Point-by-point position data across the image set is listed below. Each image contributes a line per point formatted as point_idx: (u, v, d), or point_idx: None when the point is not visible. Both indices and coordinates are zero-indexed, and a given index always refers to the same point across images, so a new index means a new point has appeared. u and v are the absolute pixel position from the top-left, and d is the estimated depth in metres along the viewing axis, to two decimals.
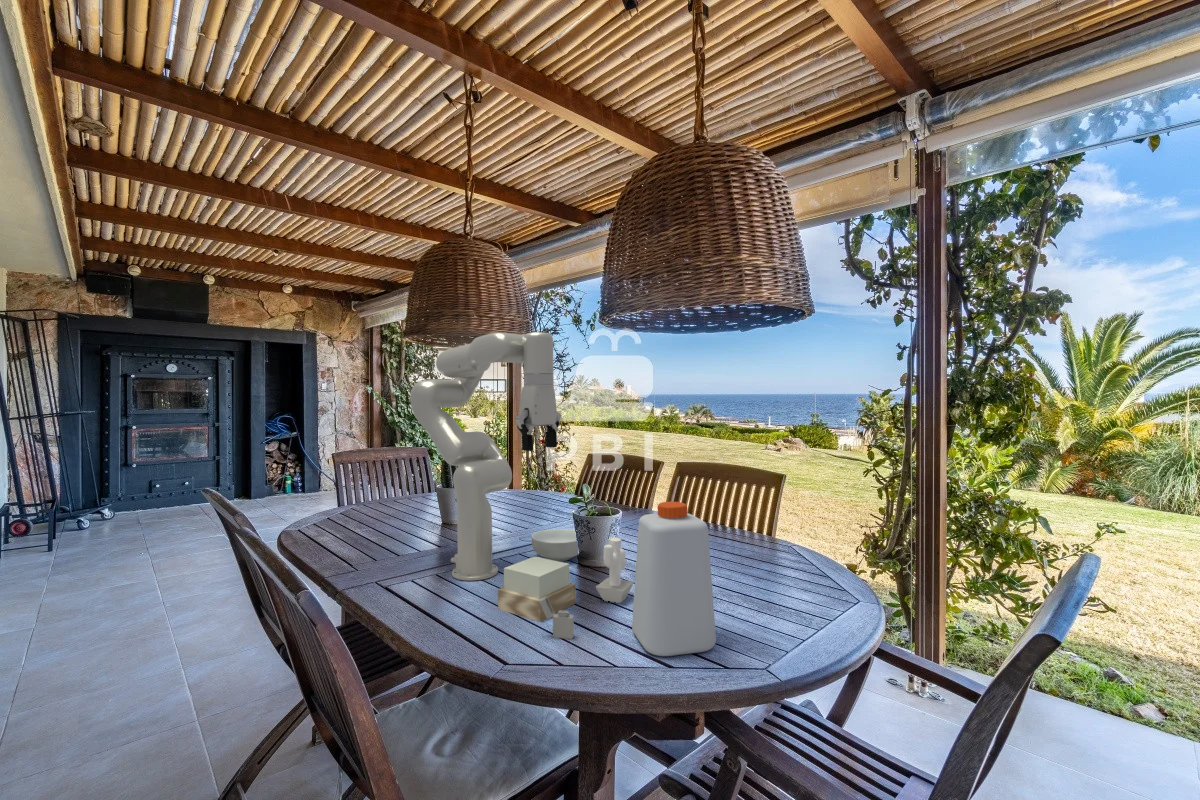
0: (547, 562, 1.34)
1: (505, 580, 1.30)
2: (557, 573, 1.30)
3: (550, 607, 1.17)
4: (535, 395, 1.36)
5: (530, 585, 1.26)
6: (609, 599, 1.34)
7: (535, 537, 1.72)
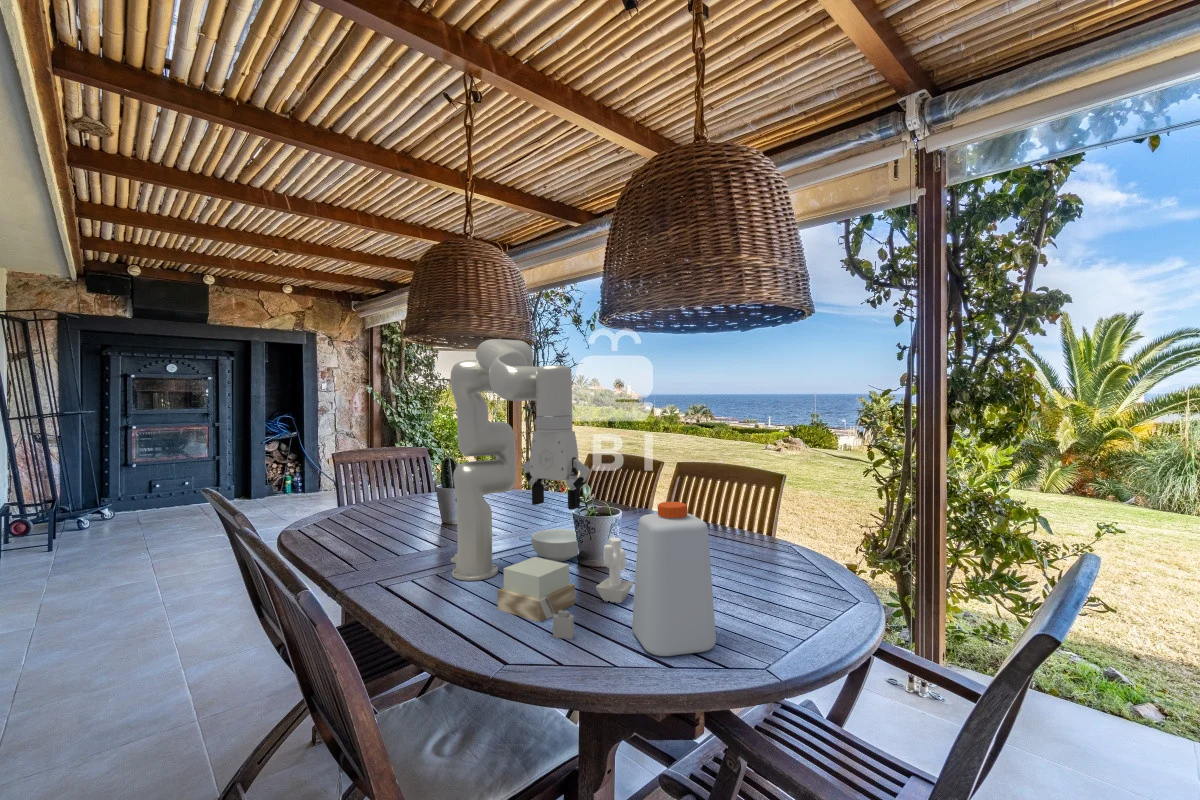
0: (547, 563, 1.34)
1: (505, 580, 1.30)
2: (557, 574, 1.30)
3: (550, 607, 1.17)
4: None
5: (530, 586, 1.26)
6: (609, 599, 1.34)
7: (535, 537, 1.72)
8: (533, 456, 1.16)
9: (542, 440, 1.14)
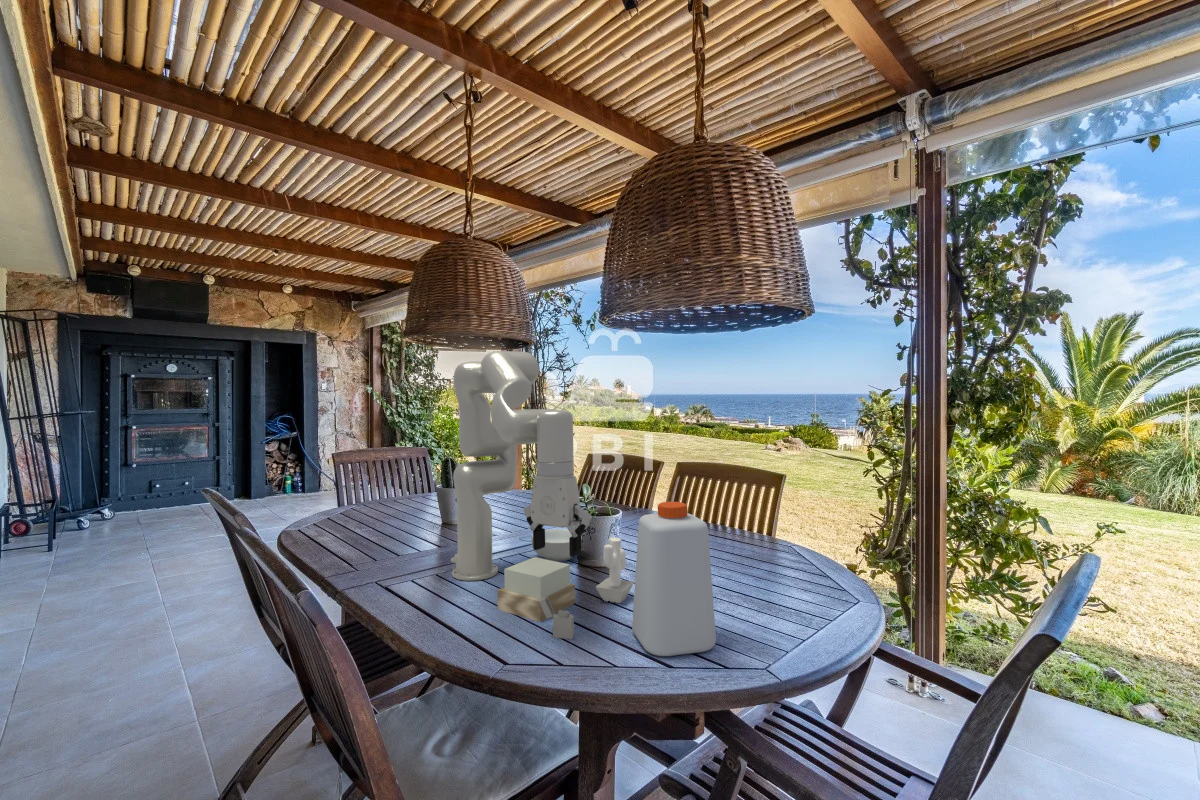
0: (547, 563, 1.34)
1: (506, 581, 1.30)
2: (558, 574, 1.29)
3: (550, 607, 1.17)
4: None
5: (532, 586, 1.25)
6: (609, 599, 1.34)
7: None
8: (534, 501, 1.15)
9: (543, 486, 1.13)
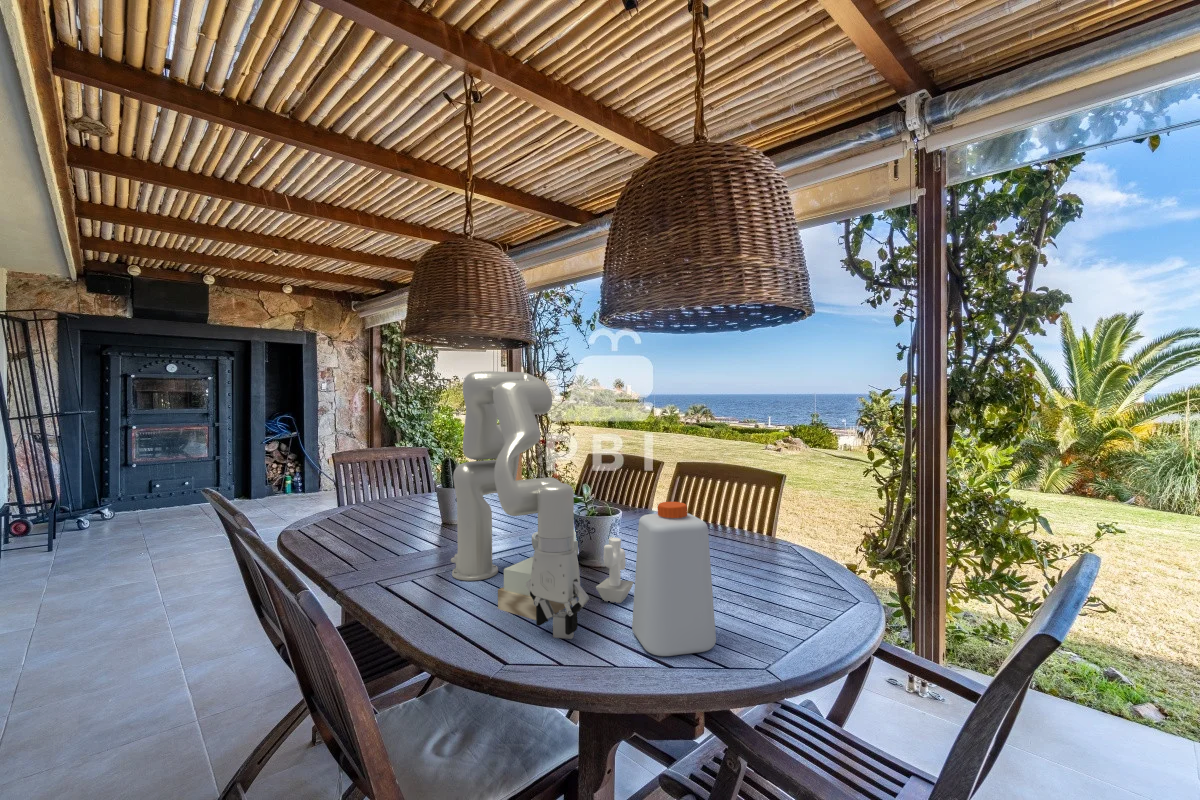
0: None
1: (505, 581, 1.30)
2: None
3: (550, 607, 1.17)
4: None
5: None
6: (609, 599, 1.34)
7: None
8: (534, 575, 1.15)
9: (543, 560, 1.14)
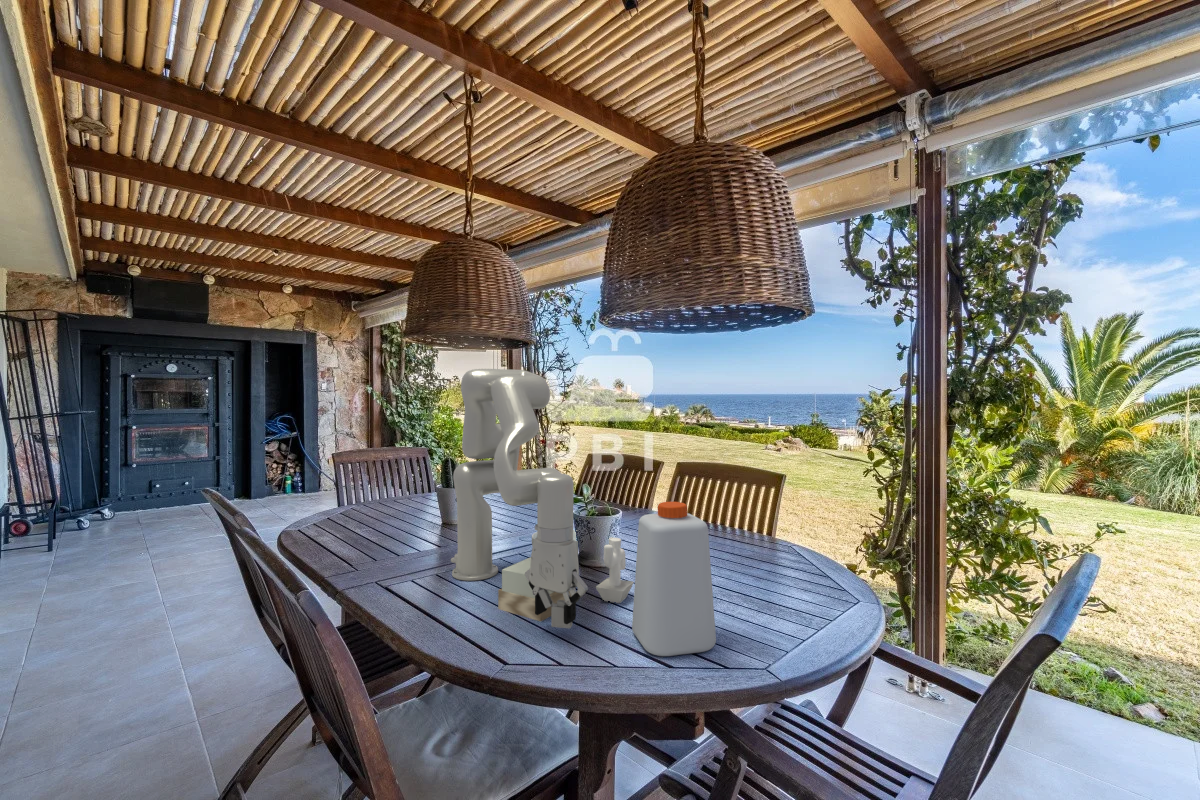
0: None
1: (503, 582, 1.29)
2: None
3: (549, 597, 1.17)
4: None
5: None
6: (609, 599, 1.34)
7: (535, 537, 1.72)
8: (533, 564, 1.16)
9: (543, 550, 1.14)
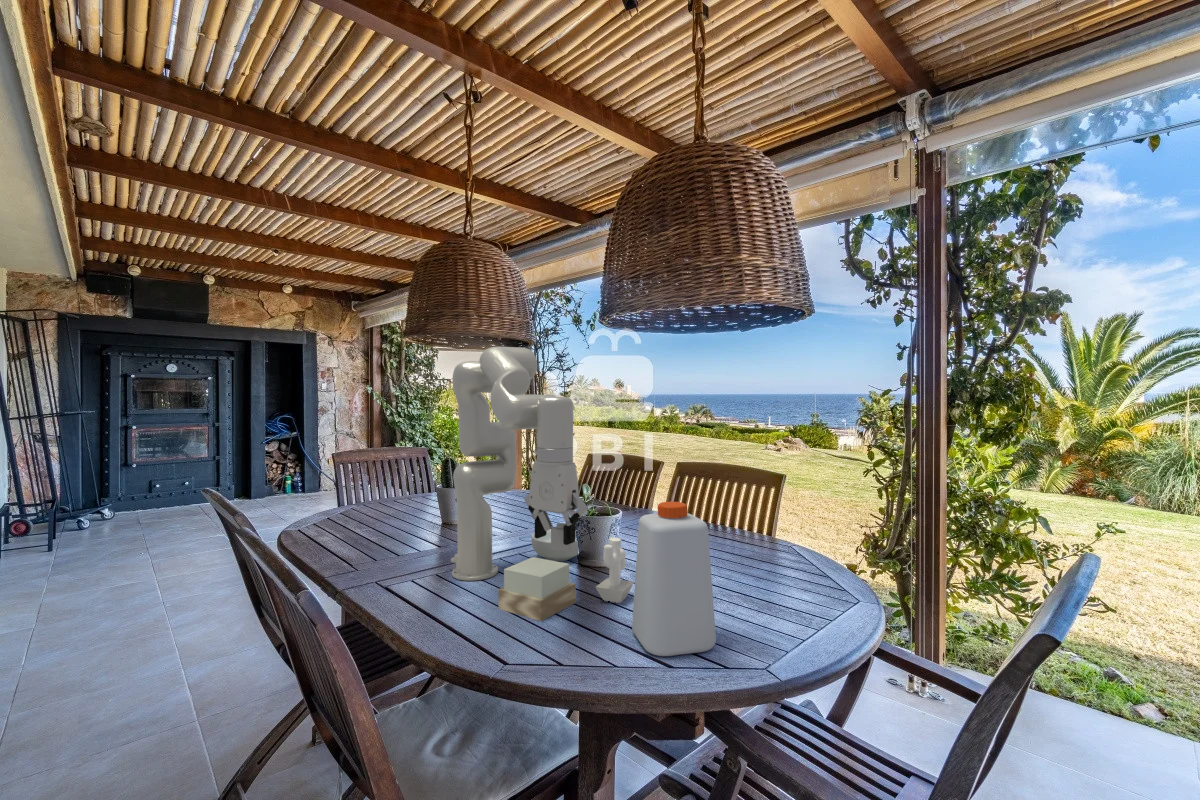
0: (546, 563, 1.34)
1: (505, 581, 1.30)
2: (558, 573, 1.30)
3: (548, 520, 1.17)
4: None
5: (532, 586, 1.25)
6: (609, 599, 1.34)
7: None
8: (533, 487, 1.15)
9: (542, 472, 1.14)
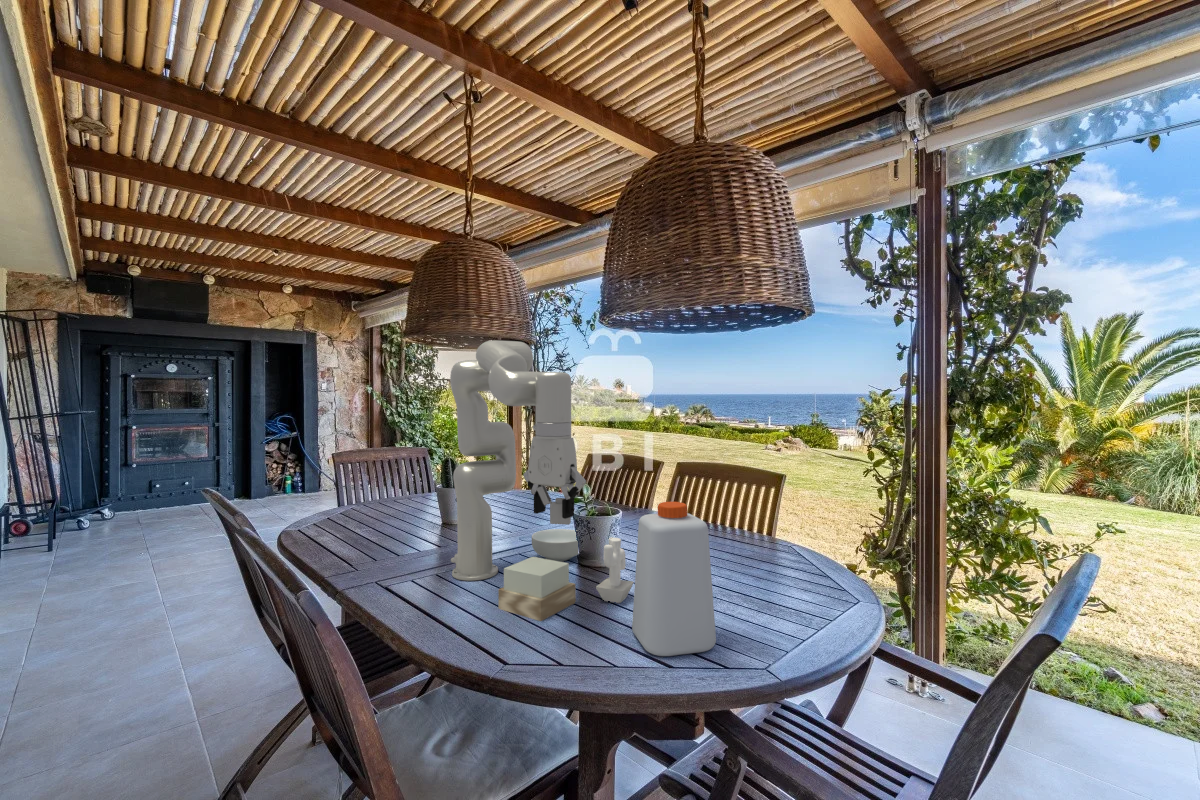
0: (546, 562, 1.35)
1: (505, 580, 1.30)
2: (558, 573, 1.30)
3: (547, 495, 1.18)
4: None
5: (532, 585, 1.26)
6: (609, 599, 1.34)
7: (535, 537, 1.72)
8: (532, 462, 1.16)
9: (541, 446, 1.15)
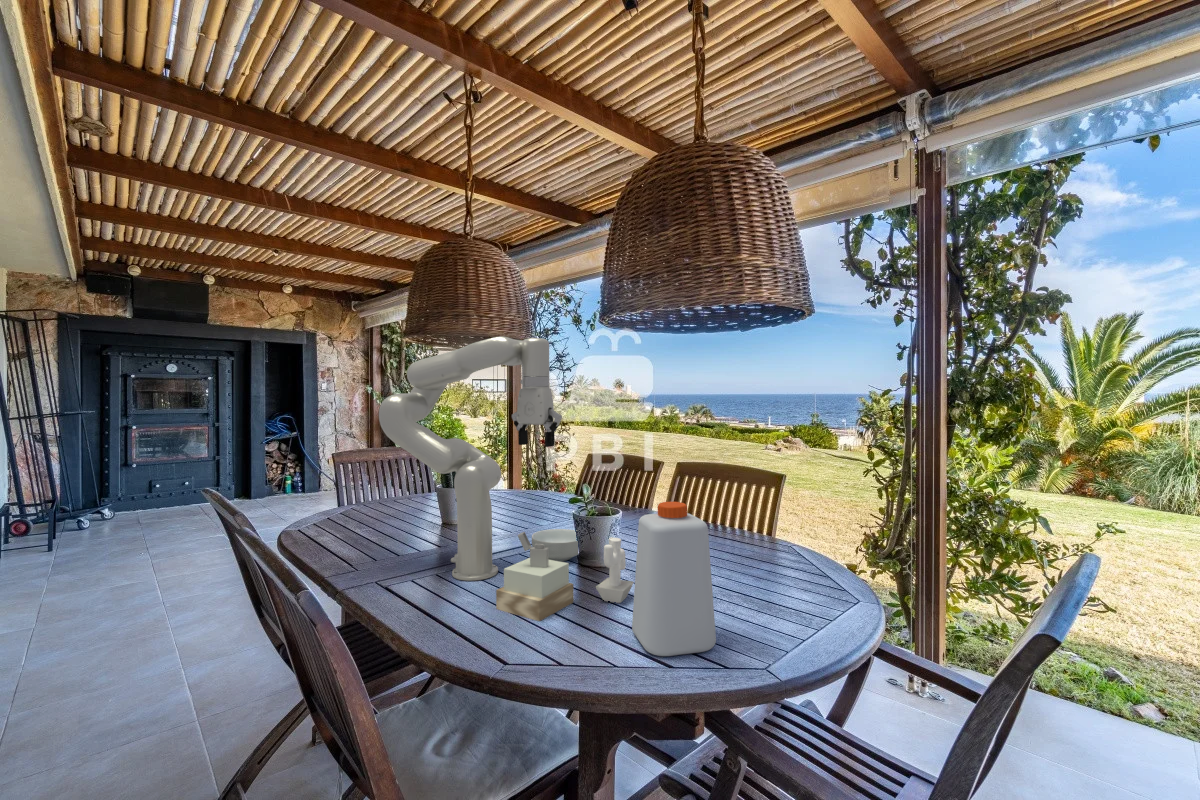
0: None
1: (505, 581, 1.30)
2: (558, 573, 1.30)
3: (527, 541, 1.33)
4: None
5: (532, 585, 1.26)
6: (609, 599, 1.34)
7: (535, 537, 1.72)
8: (519, 407, 1.52)
9: (526, 395, 1.51)
